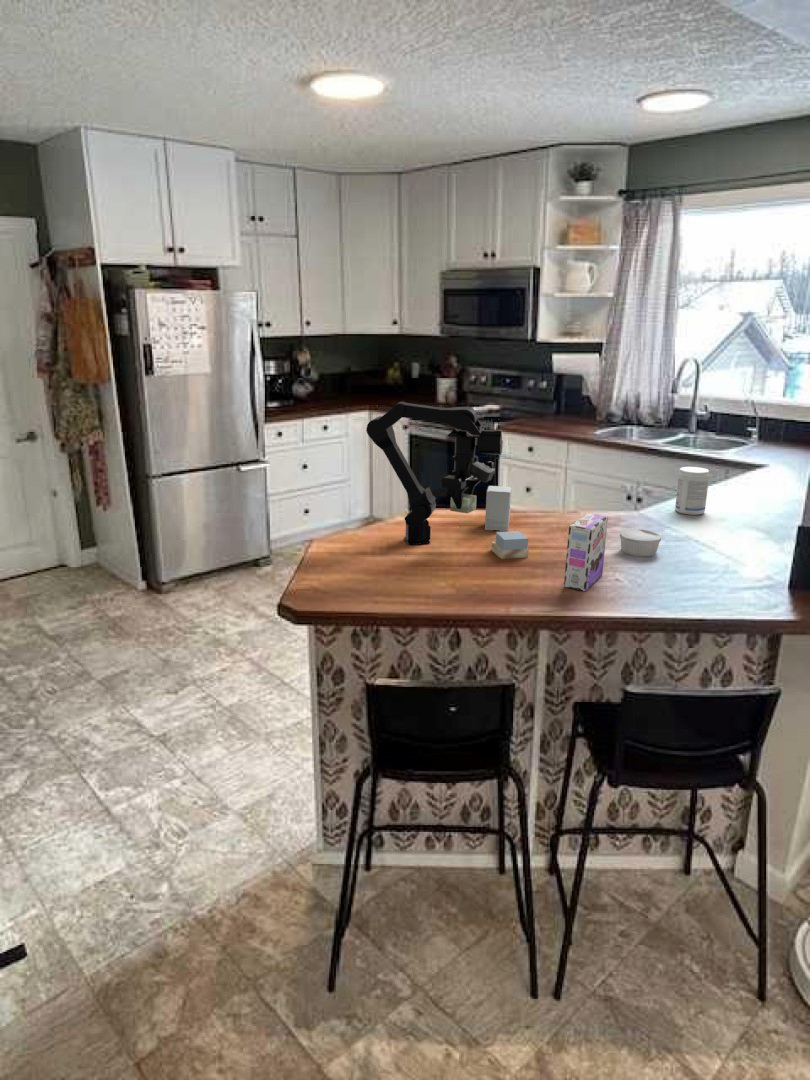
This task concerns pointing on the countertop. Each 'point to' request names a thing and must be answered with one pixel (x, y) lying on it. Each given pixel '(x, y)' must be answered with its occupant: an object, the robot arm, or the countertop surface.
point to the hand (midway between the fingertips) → (463, 506)
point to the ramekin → (639, 542)
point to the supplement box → (497, 508)
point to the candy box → (585, 551)
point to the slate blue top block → (511, 540)
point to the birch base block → (508, 552)
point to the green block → (465, 504)
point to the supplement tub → (692, 490)
